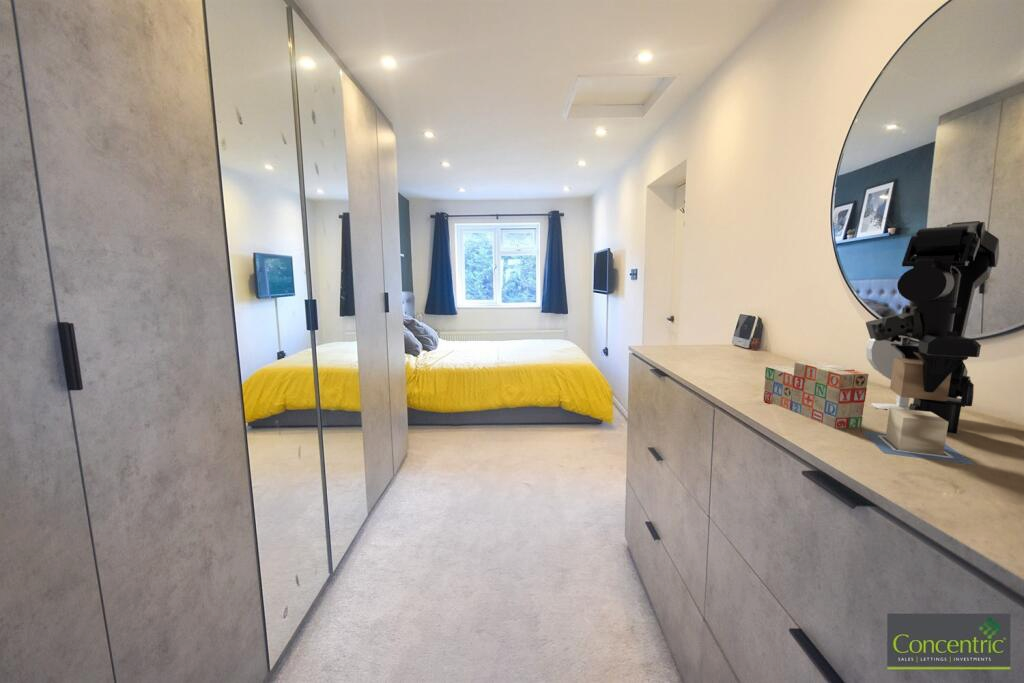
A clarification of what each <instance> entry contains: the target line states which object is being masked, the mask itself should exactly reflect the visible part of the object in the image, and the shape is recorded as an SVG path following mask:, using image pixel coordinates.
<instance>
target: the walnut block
mask: <svg viewBox="0 0 1024 683" xmlns="http://www.w3.org/2000/svg"><path fill="white" fill-rule="evenodd" d="M951 373H952V372H951ZM951 373H950V374H949V376H948V377H947V378H946V379H945V380H944V381H943V382H942V383H941V384H940V385H939V387H938V388H937V389H936V390H935V391H934V392H925V391H924V382H923V362H922V360H921V359H910V358H894V363H893V370H892V378H891V380H890V385H889V386H890V387H889V389H890V390H892V392H894V393H895V394H896V395H897V394H898V395H899V396H900V397H907V398H909V399H914V398H918V399H928V400H939V401H947V398H948V392H949V385H950V379H951Z"/></svg>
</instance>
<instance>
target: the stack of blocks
mask: <svg viewBox="0 0 1024 683" xmlns="http://www.w3.org/2000/svg"><path fill="white" fill-rule="evenodd" d="M764 380H765V381H764V388H763V390H764V392H763V402H764V403H766V402H767V403H766V404H769V403H770V404H769V405H776V406H778V407H782V408H784V409H786V410H789V411H792V412H793V413H796V414H799V415H800V416H804V417H805V418H809V419H811V420H814V421H816V422H818V423H821V424H822V425H825V426H828V427H830V428H833V429H844V428H845V429H849V428H862V425H863V424H862V423H863V414H864V407H865V401H866V399H867V398H866V396H867V390H868V389H867V388H868V386H867V385H868V380H869V373H867V372H863V371H858V370H855V369H853V368H850V367H846V366H840V365H836V364H833V363H830V364H829V363H827V362H824V361H819V360H817V361H815V360H814V361H796V362H795V363H794V367H793V366H789V365H778V366H765V373H764Z"/></svg>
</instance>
